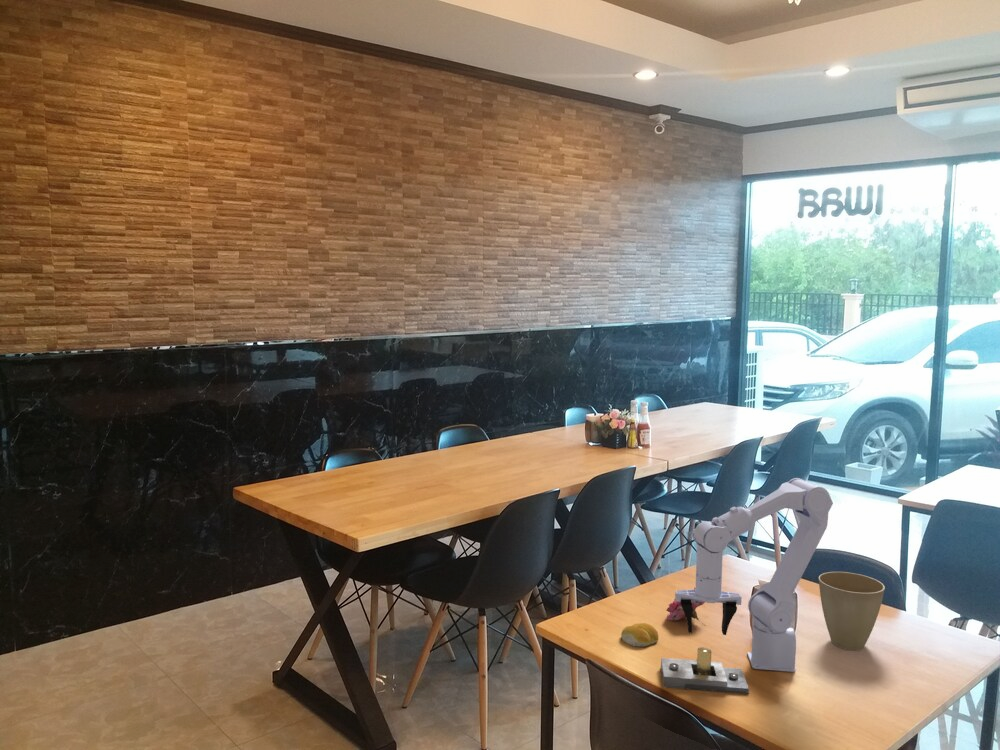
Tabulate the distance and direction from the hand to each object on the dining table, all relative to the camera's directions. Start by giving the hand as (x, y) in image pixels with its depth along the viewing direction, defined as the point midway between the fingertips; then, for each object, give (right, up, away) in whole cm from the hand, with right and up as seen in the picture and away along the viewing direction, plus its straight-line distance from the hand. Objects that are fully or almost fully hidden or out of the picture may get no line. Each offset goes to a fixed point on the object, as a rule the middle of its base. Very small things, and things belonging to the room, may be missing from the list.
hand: (706, 632), depth 176 cm
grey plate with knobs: (-2, -9, -5) cm, 11 cm away
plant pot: (+39, -8, +15) cm, 42 cm away
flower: (+1, -6, +28) cm, 28 cm away
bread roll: (-13, -8, +15) cm, 21 cm away
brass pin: (-2, -9, -5) cm, 11 cm away
